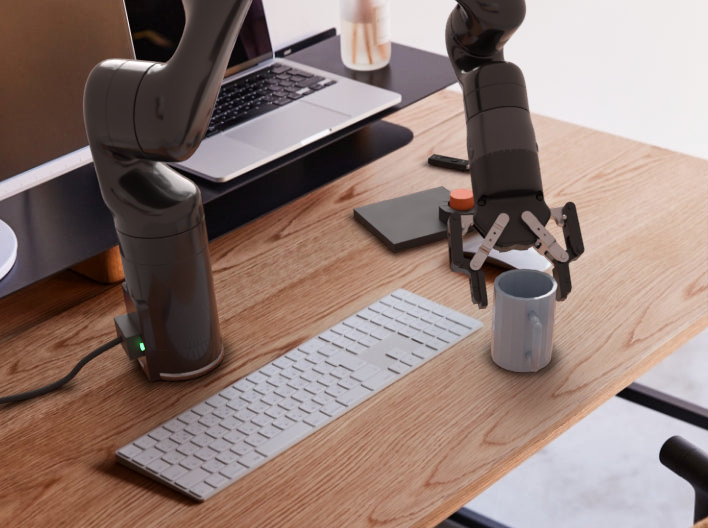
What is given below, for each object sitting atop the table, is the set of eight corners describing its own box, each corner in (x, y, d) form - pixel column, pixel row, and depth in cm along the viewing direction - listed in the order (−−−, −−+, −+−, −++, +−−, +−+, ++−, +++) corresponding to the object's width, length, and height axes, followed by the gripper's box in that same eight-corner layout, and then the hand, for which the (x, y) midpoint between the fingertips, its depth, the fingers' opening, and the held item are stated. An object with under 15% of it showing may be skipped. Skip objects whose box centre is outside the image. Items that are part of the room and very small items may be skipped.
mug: (485, 342, 119) (488, 271, 114) (543, 337, 120) (548, 266, 114) (503, 390, 112) (507, 316, 107) (565, 384, 112) (571, 311, 107)
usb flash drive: (481, 168, 157) (481, 161, 156) (475, 173, 155) (475, 166, 155) (433, 159, 160) (433, 152, 160) (427, 163, 159) (427, 157, 158)
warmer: (396, 254, 137) (395, 233, 135) (353, 216, 146) (352, 196, 144) (493, 227, 142) (494, 206, 140) (445, 192, 151) (446, 172, 149)
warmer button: (457, 213, 140) (457, 201, 139) (445, 204, 142) (445, 192, 141) (478, 207, 141) (479, 195, 140) (466, 198, 143) (466, 186, 142)
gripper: (559, 167, 120) (579, 306, 118) (434, 177, 120) (451, 318, 117) (576, 140, 113) (597, 288, 111) (443, 151, 112) (461, 301, 110)
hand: (522, 303), depth 114 cm, fingers open, 8 cm apart
